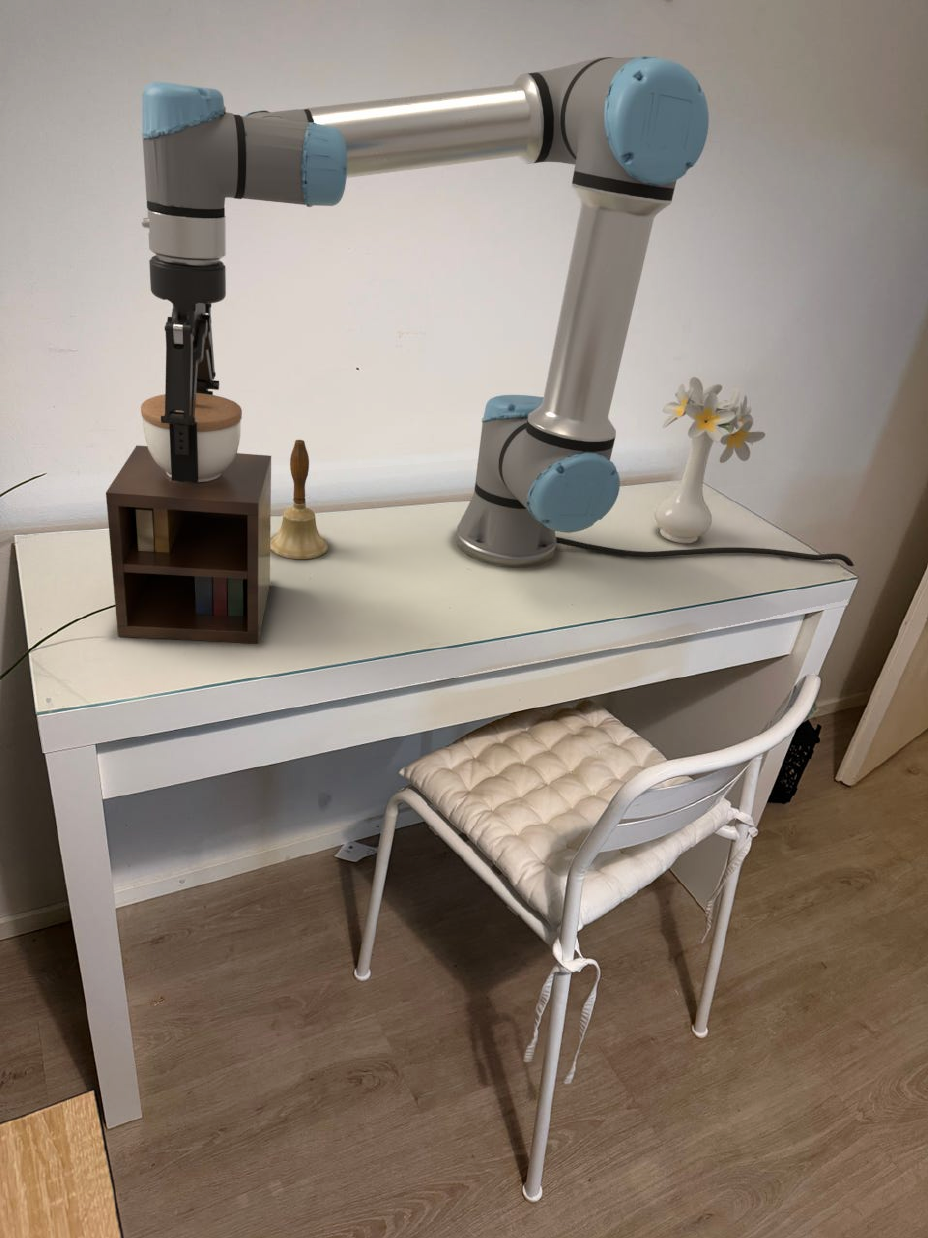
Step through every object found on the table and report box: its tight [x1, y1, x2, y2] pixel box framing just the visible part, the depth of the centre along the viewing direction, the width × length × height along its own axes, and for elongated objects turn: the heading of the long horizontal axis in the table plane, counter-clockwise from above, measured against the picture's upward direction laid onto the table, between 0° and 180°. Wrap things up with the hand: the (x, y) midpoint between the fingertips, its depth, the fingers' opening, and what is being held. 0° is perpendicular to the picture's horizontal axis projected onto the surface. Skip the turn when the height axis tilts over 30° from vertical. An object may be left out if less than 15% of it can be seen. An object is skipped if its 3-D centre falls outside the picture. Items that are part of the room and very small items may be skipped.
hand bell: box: [270, 439, 329, 560], centre depth 128 cm, size 8×8×16 cm
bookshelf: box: [105, 444, 272, 644], centre depth 109 cm, size 16×15×18 cm
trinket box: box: [140, 393, 243, 482], centre depth 103 cm, size 11×11×9 cm
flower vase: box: [654, 376, 766, 544], centre depth 146 cm, size 13×18×25 cm
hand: (193, 461), depth 104 cm, fingers closed on trinket box, 11 cm apart
